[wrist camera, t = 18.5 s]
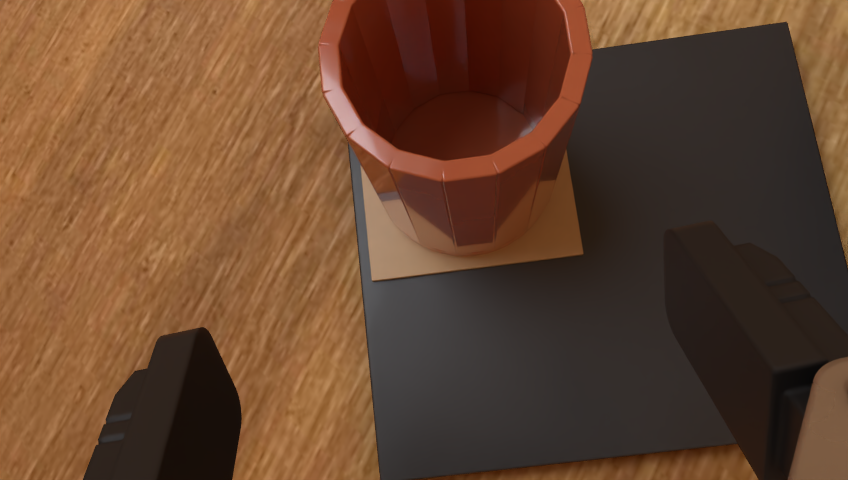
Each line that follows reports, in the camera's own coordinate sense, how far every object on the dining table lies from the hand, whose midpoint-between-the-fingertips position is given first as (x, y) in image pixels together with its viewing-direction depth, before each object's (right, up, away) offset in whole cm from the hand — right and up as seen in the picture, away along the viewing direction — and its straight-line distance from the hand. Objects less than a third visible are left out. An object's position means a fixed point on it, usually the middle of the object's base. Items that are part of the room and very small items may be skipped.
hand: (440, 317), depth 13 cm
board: (+5, +1, +13) cm, 14 cm away
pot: (+1, +4, +13) cm, 13 cm away
